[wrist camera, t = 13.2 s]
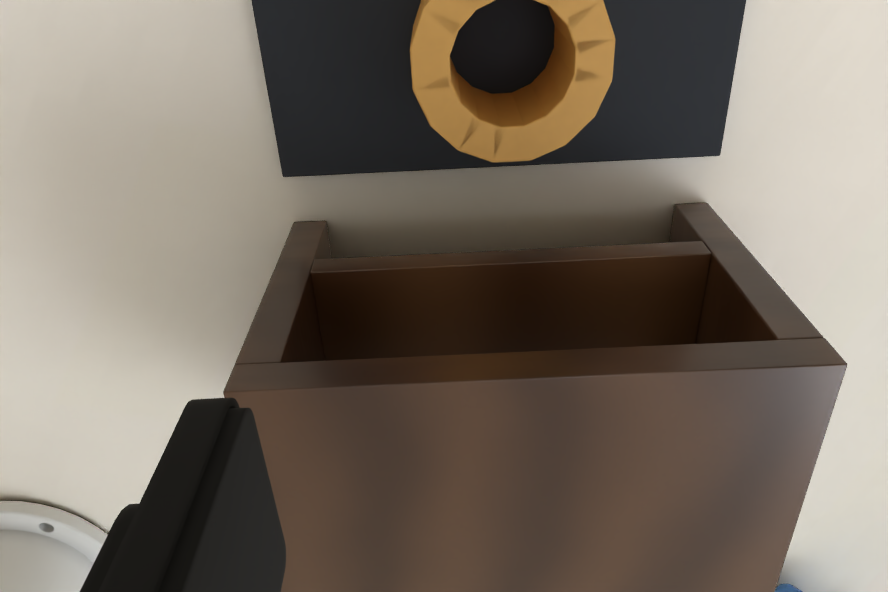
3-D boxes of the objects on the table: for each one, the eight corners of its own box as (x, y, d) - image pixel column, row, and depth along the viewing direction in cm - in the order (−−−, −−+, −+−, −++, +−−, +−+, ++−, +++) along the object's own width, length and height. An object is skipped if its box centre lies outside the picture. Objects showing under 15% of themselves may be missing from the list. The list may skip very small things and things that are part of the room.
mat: (285, 172, 32) (282, 177, 31) (237, -100, 26) (233, -100, 26) (715, 151, 32) (720, 156, 31) (761, -128, 26) (768, -129, 25)
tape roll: (420, 128, 30) (417, 166, 26) (407, -54, 26) (403, -43, 22) (582, 120, 30) (606, 157, 26) (593, -64, 26) (623, -55, 22)
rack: (326, 411, 39) (284, 620, 28) (293, 221, 33) (222, 392, 22) (675, 396, 39) (772, 600, 28) (707, 202, 33) (848, 363, 22)
